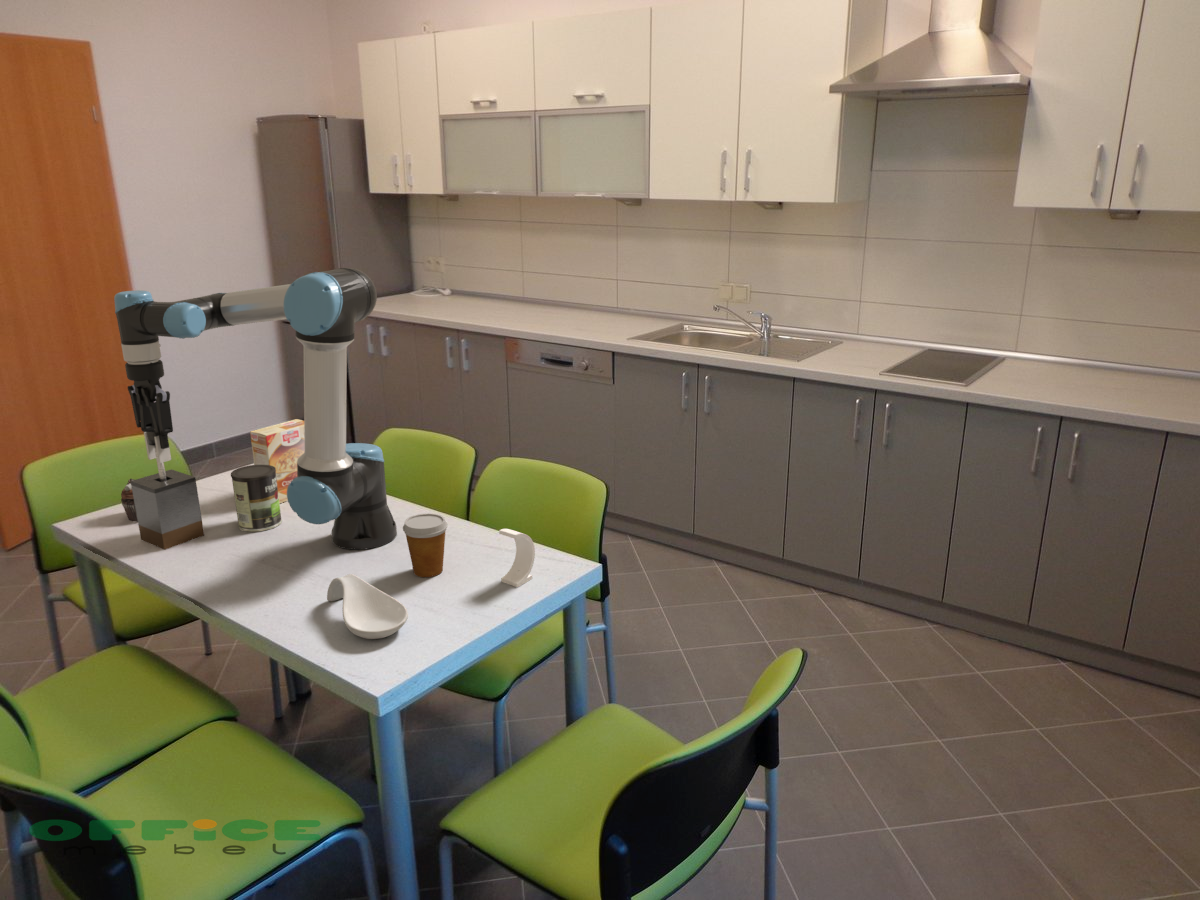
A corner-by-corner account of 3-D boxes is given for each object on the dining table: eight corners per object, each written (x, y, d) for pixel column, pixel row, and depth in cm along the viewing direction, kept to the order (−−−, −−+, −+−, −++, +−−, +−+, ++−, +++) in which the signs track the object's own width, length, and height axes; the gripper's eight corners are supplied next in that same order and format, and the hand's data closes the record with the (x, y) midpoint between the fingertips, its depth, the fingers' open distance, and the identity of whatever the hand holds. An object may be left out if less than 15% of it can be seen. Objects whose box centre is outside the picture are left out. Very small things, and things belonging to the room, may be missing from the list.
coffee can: (288, 516, 219) (282, 464, 214) (272, 532, 209) (265, 478, 205) (248, 516, 219) (241, 463, 215) (230, 532, 209) (223, 477, 205)
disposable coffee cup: (457, 565, 191) (455, 515, 188) (436, 583, 183) (433, 532, 179) (420, 559, 194) (416, 510, 191) (397, 577, 186) (393, 526, 182)
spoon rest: (420, 633, 164) (417, 599, 161) (363, 655, 156) (360, 620, 154) (362, 590, 180) (359, 559, 178) (308, 608, 173) (305, 576, 171)
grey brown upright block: (204, 535, 207) (195, 477, 202) (164, 549, 199) (154, 489, 194) (180, 526, 212) (171, 469, 208) (141, 540, 204) (130, 481, 200)
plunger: (191, 511, 205) (178, 429, 198) (163, 521, 199) (148, 437, 193) (174, 505, 208) (161, 425, 202) (146, 514, 203) (131, 432, 197)
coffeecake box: (274, 506, 225) (265, 435, 219) (257, 500, 229) (248, 431, 223) (320, 489, 237) (313, 421, 231) (303, 484, 241) (295, 418, 235)
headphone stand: (501, 581, 184) (499, 530, 180) (519, 571, 188) (517, 521, 185) (517, 587, 181) (515, 535, 177) (535, 577, 186) (534, 525, 182)
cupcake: (125, 526, 213) (118, 488, 210) (124, 513, 221) (117, 476, 218) (167, 518, 217) (161, 481, 214) (165, 506, 225) (159, 470, 222)
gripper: (180, 362, 191) (195, 461, 198) (139, 353, 200) (155, 449, 207) (147, 368, 185) (164, 470, 192) (107, 359, 194) (124, 457, 201)
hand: (159, 459), depth 200 cm, fingers closed on plunger, 4 cm apart
